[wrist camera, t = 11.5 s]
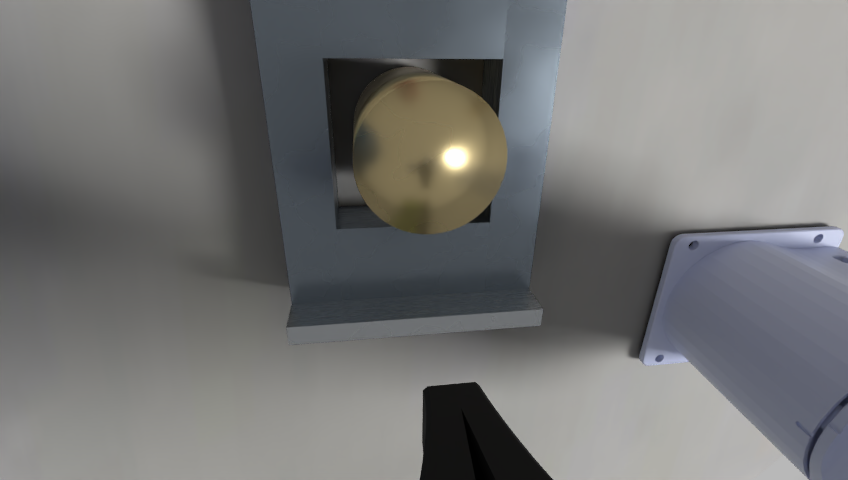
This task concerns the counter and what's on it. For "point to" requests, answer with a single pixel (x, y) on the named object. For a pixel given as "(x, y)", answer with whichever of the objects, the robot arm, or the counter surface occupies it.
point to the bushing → (426, 151)
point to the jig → (358, 225)
